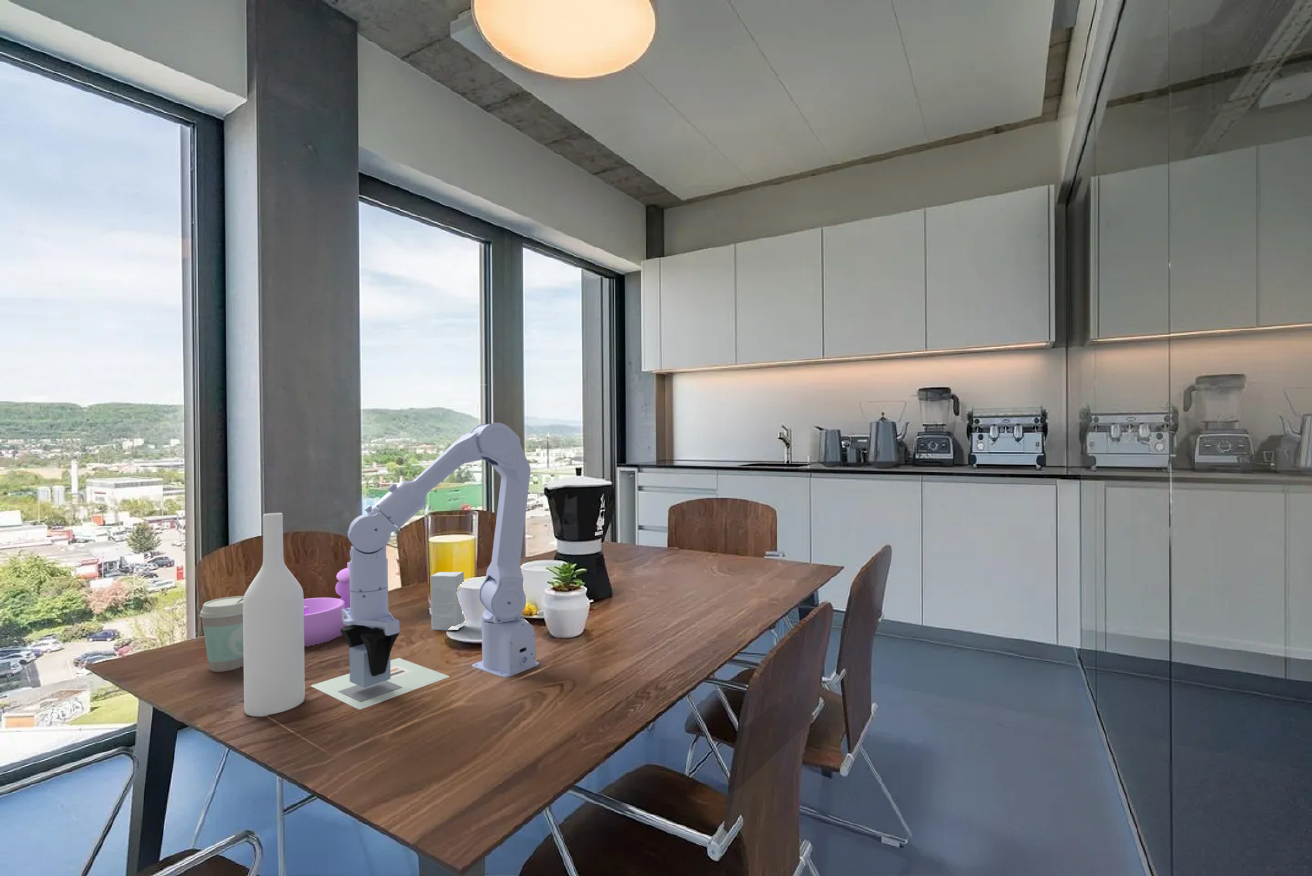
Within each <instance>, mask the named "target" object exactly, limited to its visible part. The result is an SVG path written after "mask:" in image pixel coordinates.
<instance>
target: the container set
mask: <svg viewBox="0 0 1312 876" xmlns="http://www.w3.org/2000/svg"><path fill="white" fill-rule="evenodd" d="M349 563H350V561H348V562H347V566H346V567H345V568H343V569H341V570H339V572H337V574H336V577H335V578H336V580H338V582H336V584H335V592H336V594H337V595H338V596H340V598H336V597H311V598H304V646H307V647H311V645H312V646H316V645H315V644H317V645H320V643H321V644H324V643H323V642H325V643H327V642H326V641H328V642H330V641H329V640H331V641H333V640H332V639H334V638H336V637H338V636H340V637H342V636H343V635H342V633H341V628H343V627H346V625H345V624H343V621H342V609H346V608H350V566H349ZM341 635H342V636H341ZM338 638H339V637H338ZM336 639H337V638H336ZM334 640H335V639H334Z"/></svg>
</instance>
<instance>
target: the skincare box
mask: <svg viewBox="0 0 1312 876" xmlns="http://www.w3.org/2000/svg"><path fill="white" fill-rule="evenodd" d="M464 574H465V573H464V571H458V572H457V571H439V572H438V571H437V572H436V573H434V574H432V575H430V578H429V579H430V581H429V582H430V613H431V614H430V616H431V617H430V621H431V623H430V625H431V626H430V627H431V630H432V631H435V630H436V631H444V632H448V631H447V630H448V629H449V628H450V627H451V626H456V625H458V624H461V623H463V622H464V621H465V620H466V619H464V616H463V614H462V609H461V606H460V604H459V601H458V597H457V594H456V592H457V588H458V586H459V585H460V584H462V582H464V583H465V580H464V579H465V575H464ZM465 622H466V621H465Z"/></svg>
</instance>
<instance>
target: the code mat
mask: <svg viewBox="0 0 1312 876" xmlns="http://www.w3.org/2000/svg"><path fill="white" fill-rule="evenodd" d="M390 669H391V679H389V680H386V681H383V682H380V683H377V684H374V685H371V686H368V687H365V688H363V687H361V686H359V685H356V684H354V683H352V682H350V672H349V673H346V674H343V675H339V676H337V677H336V676H335V677H334V678H331V679H327V680H325V681H321V682H317V683H315V684H312V685H310V687H312V688H313V689H316V690H317V691H320V692H322V693H323V694H325V695H328V696H330V697H332V698H334V699H337V700H338V701H340V702H343V703H345V704H346V705H348V706H351V707H353V708H355V709H357V710H363V709H366V708H369V707H371V706H374V705H377V704H380V703H382V702H385V701H387V700H390V699H393V698H396V697H399V696H401V695H404V694H407V693H409V692H412V691H414V690H417V689H421V688H422V687H426V686H428V685H431V684H434V683H436V682H441V680H445V679H447V678H451V676H449V675H448V674H444V673H442V672H438V671H436V670H434V669H431V668H428V667H425V666H423V665H420V664H417V663H414V662H411V661H410V660H406V659H403V658H400V657H397V658H394V659H390Z"/></svg>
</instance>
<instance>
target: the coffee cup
mask: <svg viewBox="0 0 1312 876" xmlns="http://www.w3.org/2000/svg"><path fill="white" fill-rule="evenodd" d="M243 599H244V595H239V596H236V595H235V596H227V597H220V598H215V599H213V600H212V599H211V600H209V601H206V602H204V603H203V604H202V608H201V610H200V612H199V613H200V614H199V617H200V618H201V622H202V629H203V636H204V641H205V643H204V644H205V649H206V657H207V663H208V668H209V671H211V672H214V673H221V672H222V673H223V672H229V671H234V670H238V669H241V668H244V650H243ZM240 667H241V668H240ZM237 668H238V669H237Z"/></svg>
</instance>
